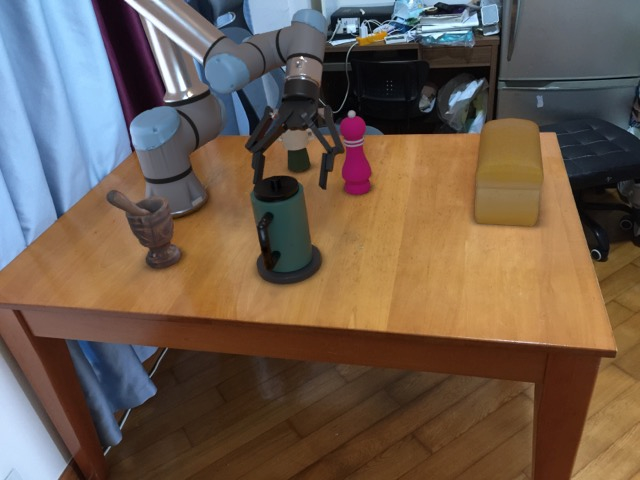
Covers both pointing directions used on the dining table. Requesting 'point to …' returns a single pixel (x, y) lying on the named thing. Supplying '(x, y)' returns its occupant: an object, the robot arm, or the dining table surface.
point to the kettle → (282, 223)
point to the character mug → (297, 148)
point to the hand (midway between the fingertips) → (289, 186)
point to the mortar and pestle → (150, 227)
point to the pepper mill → (355, 155)
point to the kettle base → (293, 275)
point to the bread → (508, 173)
